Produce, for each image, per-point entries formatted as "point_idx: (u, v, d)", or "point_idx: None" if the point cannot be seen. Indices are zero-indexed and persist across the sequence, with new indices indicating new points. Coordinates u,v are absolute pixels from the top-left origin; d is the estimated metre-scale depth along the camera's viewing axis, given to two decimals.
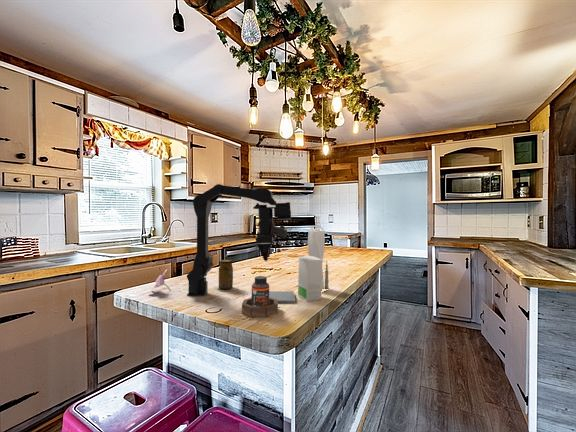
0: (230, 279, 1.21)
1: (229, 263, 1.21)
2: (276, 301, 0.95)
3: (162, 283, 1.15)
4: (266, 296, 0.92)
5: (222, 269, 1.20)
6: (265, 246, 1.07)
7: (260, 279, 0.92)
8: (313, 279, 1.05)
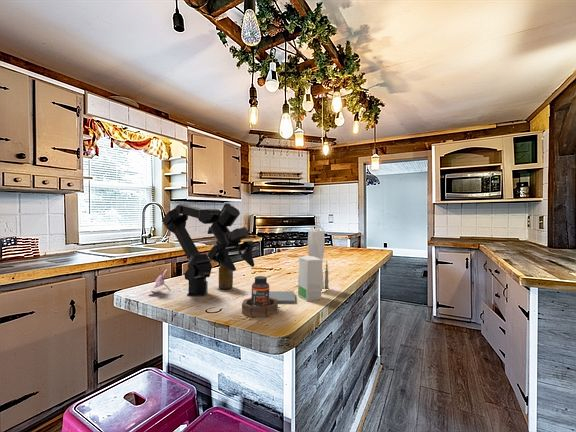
0: (230, 279, 1.21)
1: None
2: (276, 301, 0.95)
3: (162, 283, 1.15)
4: (266, 296, 0.92)
5: (222, 269, 1.20)
6: (224, 257, 0.96)
7: (260, 279, 0.92)
8: (313, 279, 1.05)
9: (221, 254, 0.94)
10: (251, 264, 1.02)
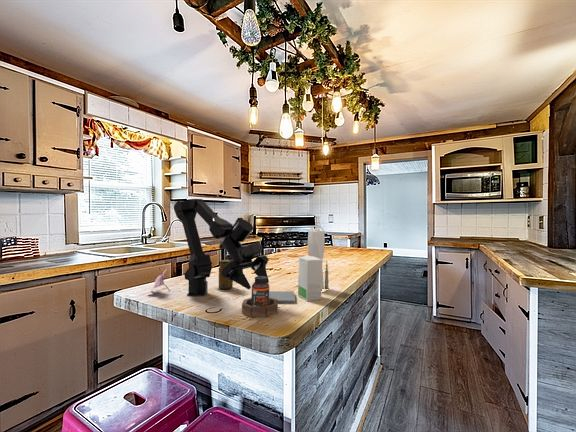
0: None
1: None
2: (276, 301, 0.95)
3: (161, 283, 1.14)
4: (266, 296, 0.92)
5: None
6: (238, 275, 0.92)
7: (260, 279, 0.92)
8: (313, 279, 1.05)
9: (235, 272, 0.91)
10: None
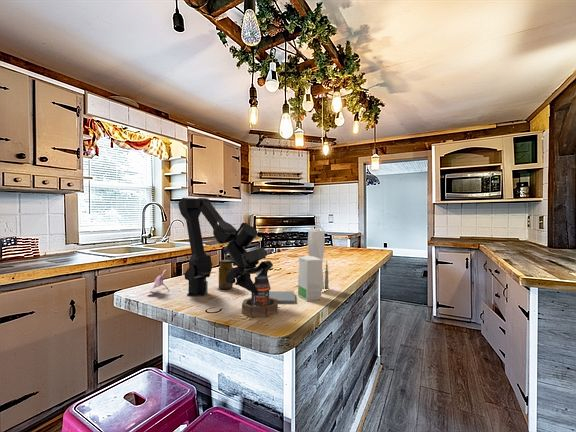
0: None
1: (229, 263, 1.21)
2: (276, 301, 0.95)
3: (161, 283, 1.14)
4: (266, 296, 0.92)
5: (222, 269, 1.20)
6: (246, 280, 0.92)
7: (260, 279, 0.92)
8: (313, 279, 1.05)
9: (243, 277, 0.91)
10: None
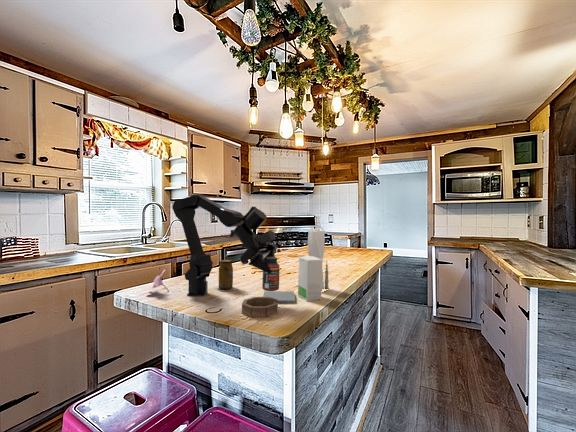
0: (230, 279, 1.21)
1: (229, 263, 1.21)
2: (276, 301, 0.95)
3: (160, 283, 1.14)
4: (278, 275, 0.98)
5: (222, 269, 1.20)
6: (258, 260, 0.97)
7: (272, 259, 0.98)
8: (313, 279, 1.05)
9: (257, 257, 0.95)
10: None
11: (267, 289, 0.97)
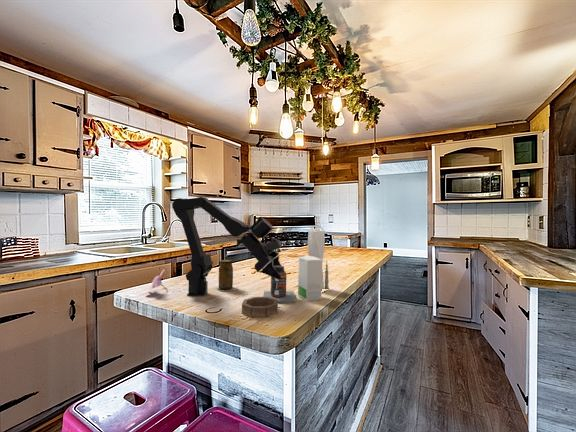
0: (230, 279, 1.21)
1: (229, 263, 1.21)
2: (276, 301, 0.95)
3: (159, 284, 1.14)
4: None
5: (222, 269, 1.20)
6: (269, 267, 1.03)
7: (281, 267, 1.07)
8: (313, 279, 1.05)
9: (268, 265, 1.02)
10: None
11: (277, 295, 1.05)
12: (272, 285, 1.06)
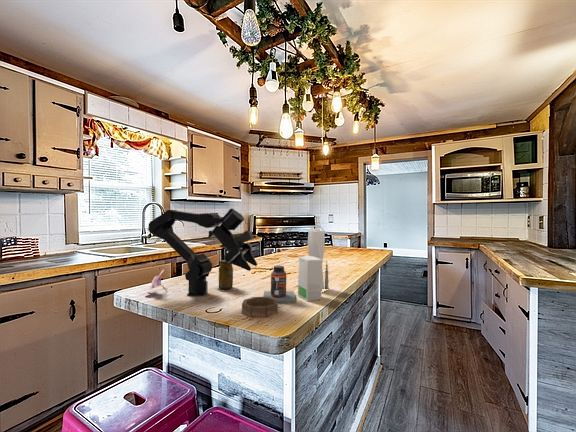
0: (230, 279, 1.21)
1: (229, 263, 1.21)
2: (276, 301, 0.95)
3: (158, 284, 1.13)
4: None
5: (222, 269, 1.20)
6: (239, 259, 1.03)
7: (281, 267, 1.07)
8: (313, 279, 1.05)
9: (238, 256, 1.02)
10: (254, 264, 1.13)
11: (277, 295, 1.05)
12: (272, 285, 1.06)
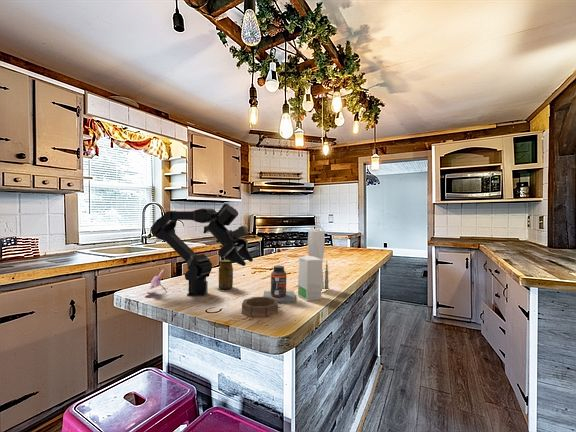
0: (230, 279, 1.21)
1: (229, 263, 1.21)
2: (276, 301, 0.95)
3: (158, 284, 1.13)
4: None
5: (222, 269, 1.20)
6: (233, 254, 1.02)
7: (281, 267, 1.07)
8: (313, 279, 1.05)
9: (232, 251, 1.01)
10: (250, 259, 1.12)
11: (277, 295, 1.05)
12: (272, 285, 1.06)
